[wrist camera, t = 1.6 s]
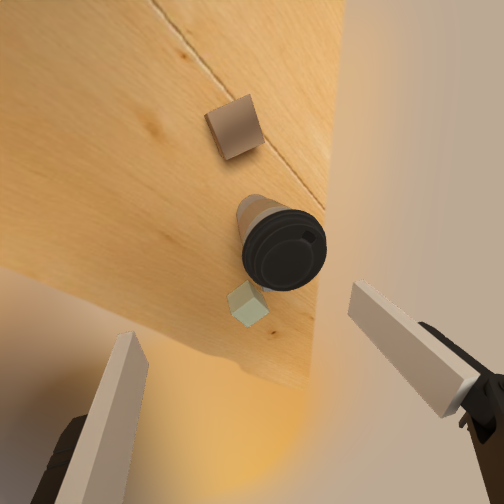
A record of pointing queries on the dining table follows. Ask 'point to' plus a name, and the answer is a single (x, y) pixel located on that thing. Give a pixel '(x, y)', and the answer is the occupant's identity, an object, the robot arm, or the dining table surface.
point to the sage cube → (247, 304)
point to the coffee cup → (279, 243)
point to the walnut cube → (235, 127)
